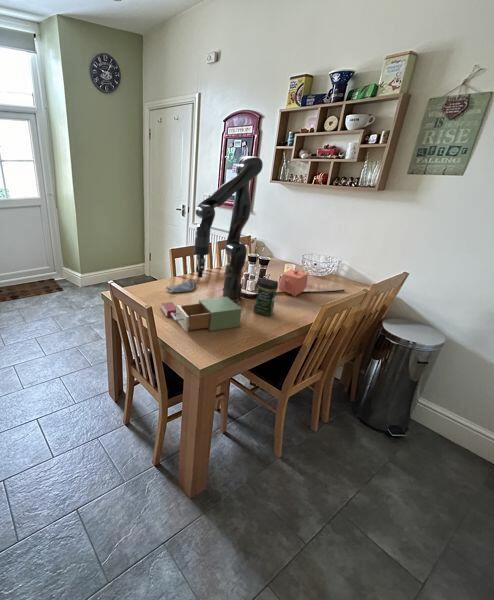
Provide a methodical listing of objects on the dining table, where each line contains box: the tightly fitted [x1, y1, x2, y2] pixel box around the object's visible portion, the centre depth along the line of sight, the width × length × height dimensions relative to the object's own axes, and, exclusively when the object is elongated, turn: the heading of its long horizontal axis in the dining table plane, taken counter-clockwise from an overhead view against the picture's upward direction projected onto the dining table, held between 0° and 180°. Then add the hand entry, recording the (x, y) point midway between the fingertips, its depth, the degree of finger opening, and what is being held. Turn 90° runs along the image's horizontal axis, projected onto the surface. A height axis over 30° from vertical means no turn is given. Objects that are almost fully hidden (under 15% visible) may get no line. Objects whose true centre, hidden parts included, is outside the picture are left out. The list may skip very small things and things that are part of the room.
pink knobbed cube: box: [278, 269, 308, 297], centre depth 196 cm, size 22×13×14 cm, turn 134°
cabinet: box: [198, 297, 243, 331], centre depth 161 cm, size 16×15×10 cm
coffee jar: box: [253, 277, 279, 317], centre depth 169 cm, size 10×8×19 cm
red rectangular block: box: [160, 301, 176, 318], centre depth 170 cm, size 6×10×4 cm, turn 17°
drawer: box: [171, 302, 211, 333], centre depth 157 cm, size 19×13×8 cm
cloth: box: [166, 279, 196, 294], centre depth 202 cm, size 26×14×2 cm, turn 131°
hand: (198, 274), depth 173 cm, fingers open, 8 cm apart
